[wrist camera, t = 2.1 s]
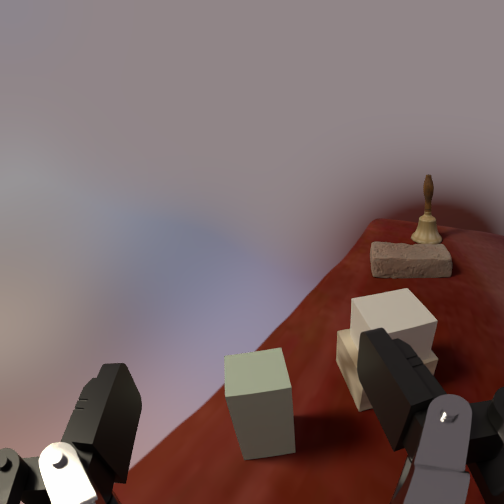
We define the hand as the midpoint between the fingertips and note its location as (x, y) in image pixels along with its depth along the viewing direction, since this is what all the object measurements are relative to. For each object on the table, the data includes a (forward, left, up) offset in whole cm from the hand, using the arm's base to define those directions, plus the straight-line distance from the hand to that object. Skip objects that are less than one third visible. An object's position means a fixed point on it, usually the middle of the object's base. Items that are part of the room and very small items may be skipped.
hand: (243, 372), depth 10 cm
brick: (-51, -15, -21) cm, 57 cm away
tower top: (-21, -5, -16) cm, 27 cm away
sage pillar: (-7, -9, -20) cm, 23 cm away
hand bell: (-69, -18, -21) cm, 74 cm away
